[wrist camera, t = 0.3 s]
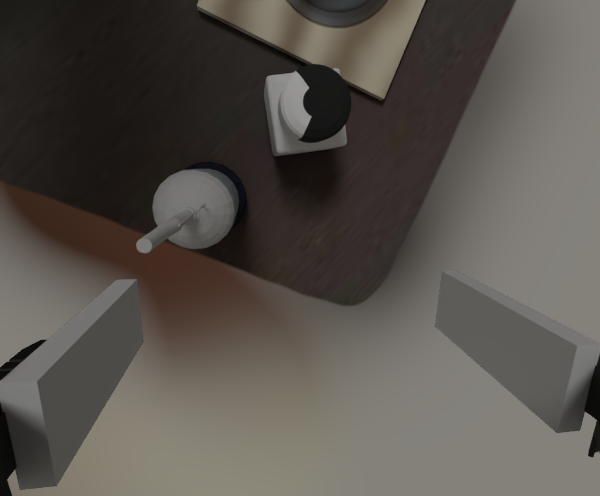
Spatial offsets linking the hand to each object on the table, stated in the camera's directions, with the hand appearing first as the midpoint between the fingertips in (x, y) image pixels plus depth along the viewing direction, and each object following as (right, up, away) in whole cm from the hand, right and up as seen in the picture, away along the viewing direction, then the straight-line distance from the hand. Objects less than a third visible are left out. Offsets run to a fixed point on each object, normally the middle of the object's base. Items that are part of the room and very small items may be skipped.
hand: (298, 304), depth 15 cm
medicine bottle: (0, +17, +25) cm, 30 cm away
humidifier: (-10, +8, +26) cm, 29 cm away
